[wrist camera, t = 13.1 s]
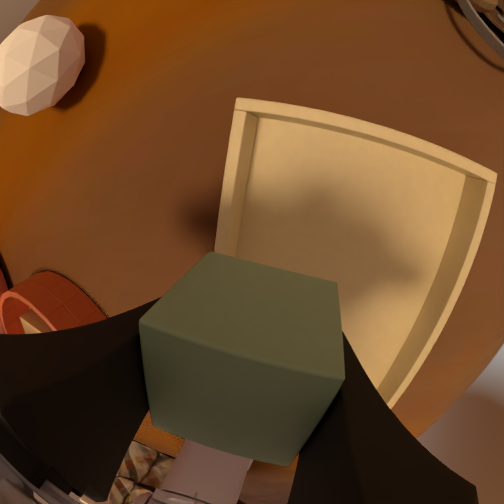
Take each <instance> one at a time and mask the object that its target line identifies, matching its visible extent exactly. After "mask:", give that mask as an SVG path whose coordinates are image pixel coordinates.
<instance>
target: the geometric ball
mask: <svg viewBox="0 0 504 504" xmlns="http://www.w3.org/2000/svg"><path fill="white" fill-rule="evenodd" d="M84 63H85V49H84V35H83V34H82V33H81V32H80V31H79V29H78V28H77V27H76V26H75V25H74V23H73V22H72V21H71V20H70V19H69V18H64V17H58V16H51V15H45V16H42V17H39V18H36V19H33V20H30V21H27V22H25V23H22V24H20V25H19V26H18V27H17V28H16V29H15V30H14V31H13V32H12V33H11V34H10V35H9V36H8V37H7V38H6V39H5V40H4V41H3V42H2V43H1V44H0V106H1V107H2V108H3V109H5V110H7V111H9V112H11V113H16V114H21V115H25V116H29V115H32V114H34V113H36V112H39V111H41V110H43V109H46V108H49V107H51V106H54V105H55V104H56V103H57V102H58V101H59V100H60V99H61V98H62V97H63V96H64V95H65V94H66V93H67V92H68V91H69V90H70V89H71V88H72V87H73V86H74V84H75V82H76V79H77V77H78V75H79V73H80V71H81V69H82V67H83V65H84Z"/></svg>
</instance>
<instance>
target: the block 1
mask: <svg viewBox="0 0 504 504" xmlns="http://www.w3.org/2000/svg"><path fill="white" fill-rule="evenodd" d="M20 319H21V322H22V325H23V328H24V331H25V334H33V333H44V332H51V331H53V330H52V329H51V328H50V326H49V325H48V324H47V323H46V322H45V321H44V320H43V319H42V318H41V317H40V316H39V315H38V314H37V313H36V312H35V311H34V310H33V309H32V308H31V309H30V310H28V311H27V312H25V313H24V314H23V315H21V316H20Z"/></svg>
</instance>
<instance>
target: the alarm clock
mask: <svg viewBox="0 0 504 504" xmlns="http://www.w3.org/2000/svg"><path fill="white" fill-rule="evenodd" d="M454 1H455V2H457V3H458V4H459V6H460V7H461V9H462V11H463V13H464V15H465V16H466V17H467V19H468V21H469V22H470V23H471V25H472V26H473V27H474V28H475V30H476V31H477V32H478V33H479V34H480V36H481V37H482V38H483V39H484V40H485V41H486V42H487V43H488V45H490V46H491V47H492V48H493V49H494V50H495V51H496V52H497V53H498V54H499V55H500V56H502V57H503V58H504V44H503V43H502V42H501V41H500V40H499V39H498V38H497V37H496V35H495V34H494V33H493V32H492V31H491V30H490V29H489V28H488V26H487V25H486V24H485V23H484V21H483V20H482V19H481V18H480V17H479V15H478V14H477V12H480V13H484V14H485V15H486V16H487V18H488V19H489V20H490V21H491V22H492V23H493V24H494V25H495V26H496V27H498V28H499V29H500V30H501V31H502V32H503V33H504V0H454Z"/></svg>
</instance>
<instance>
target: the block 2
mask: <svg viewBox="0 0 504 504" xmlns="http://www.w3.org/2000/svg"><path fill="white" fill-rule="evenodd" d="M139 331H140V343H141V352H142V361H143V369H144V377H145V384H146V391H147V397H148V403H149V409H150V415H151V420H152V425H153V426H155V427H157V428H159V429H162V430H164V431H167V432H169V433H171V434H174V435H176V436H179V437H182V438H184V439H187V440H190V441H193V442H195V443H198V444H201V445H204V446H207V447H210V448H213V449H216V450H220V451H223V452H226V453H230V454H233V455H237V456H241V457H245V458H249V459H253V460H257V461H261V462H266V463H271V464H276V465H281V466H289V465H290V464H291V463H292V461H293V460H294V459H295V457H296V456H297V455H298V453H299V452H300V450H301V449H302V447H303V446H304V445H305V443H306V442H307V440H308V439H309V437H310V436H311V434H312V433H313V431H314V430H315V428H316V427H317V425H318V424H319V422H320V420H321V419H322V417H323V416H324V414H325V412H326V411H327V409H328V407H329V406H330V404H331V402H332V401H333V399H334V397H335V396H336V394H337V392H338V390H339V389H340V387H341V385H342V383H343V381H344V380H345V366H344V350H343V336H342V324H341V313H340V303H339V294H338V285H337V283H336V282H333V281H329V280H325V279H321V278H317V277H313V276H308V275H304V274H300V273H296V272H292V271H288V270H284V269H280V268H275V267H271V266H267V265H263V264H259V263H255V262H251V261H247V260H243V259H239V258H235V257H231V256H227V255H223V254H219V253H215V252H208V253H207V254H206V255H205V256H204V257H203V258H202V259H201V260H200V261H199V262H198V263H196V264H195V265H194V266H193V267H192V268H191V269H190V270H189V271H188V272H187V273H186V274H185V275H184V276H183V277H182V278H181V279H180V280H179V281H178V282H177V283H176V284H175V285H174V286H173V287H172V288H171V289H170V290H169V291H168V292H167V293H166V294H165V295H164V296H162V297H161V298H160V299H159V300H158V301H157V302H156V303H155V304H154V305H153V306H152V307H151V308H150V309H149V310H148V311H147V312H146V313H145V314H144V315H143V316H142V317H141V318H140V320H139Z"/></svg>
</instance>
